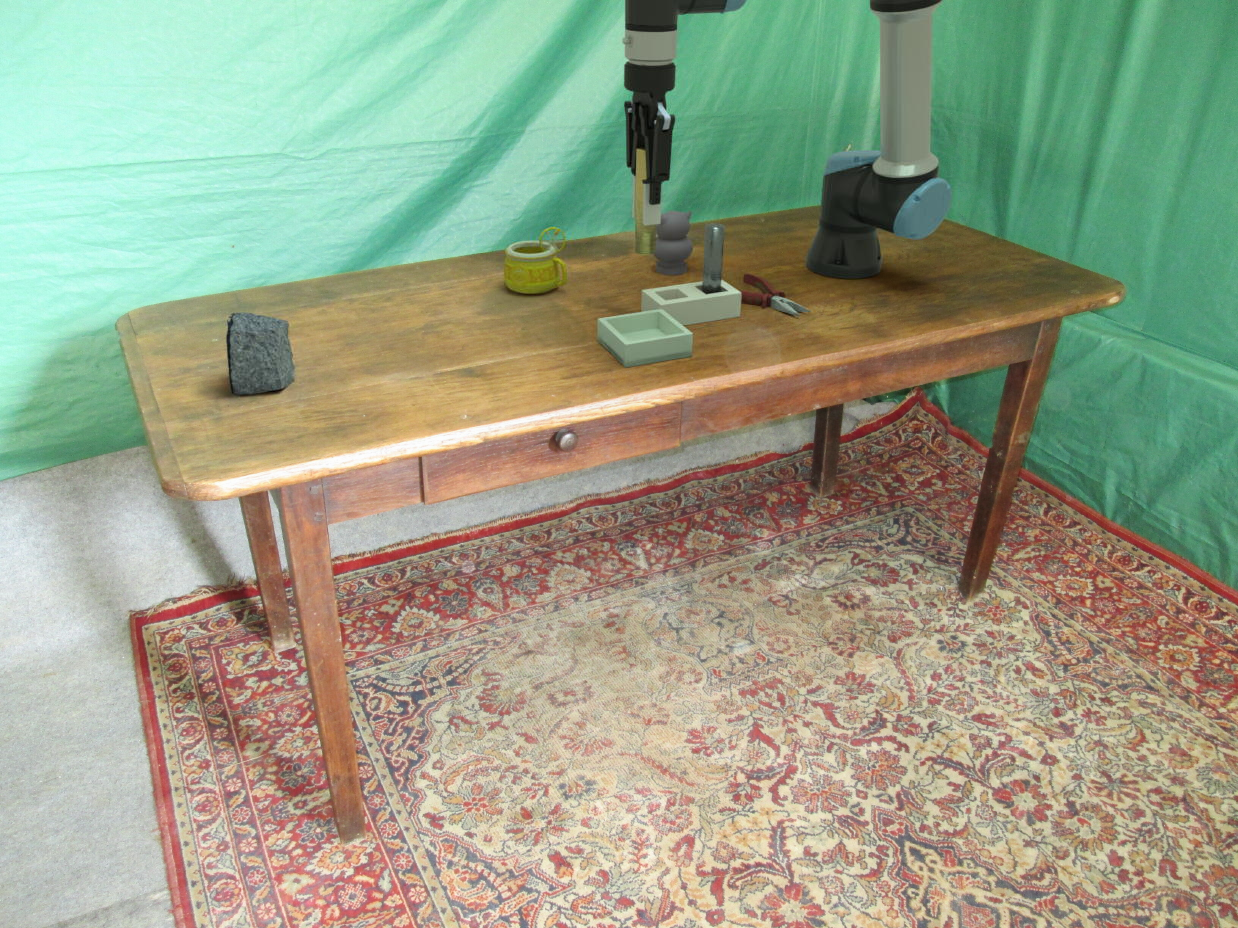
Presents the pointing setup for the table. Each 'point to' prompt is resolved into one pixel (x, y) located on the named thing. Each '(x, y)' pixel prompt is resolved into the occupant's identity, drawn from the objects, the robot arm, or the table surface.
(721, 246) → the pin dark
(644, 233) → the pin brass
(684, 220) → the cat figurine
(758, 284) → the pliers
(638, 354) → the tray
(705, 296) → the pale green peg holder
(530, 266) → the mug
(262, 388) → the stone
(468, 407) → the table surface
